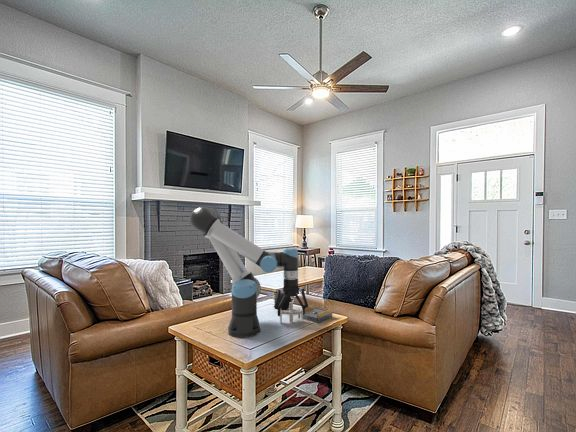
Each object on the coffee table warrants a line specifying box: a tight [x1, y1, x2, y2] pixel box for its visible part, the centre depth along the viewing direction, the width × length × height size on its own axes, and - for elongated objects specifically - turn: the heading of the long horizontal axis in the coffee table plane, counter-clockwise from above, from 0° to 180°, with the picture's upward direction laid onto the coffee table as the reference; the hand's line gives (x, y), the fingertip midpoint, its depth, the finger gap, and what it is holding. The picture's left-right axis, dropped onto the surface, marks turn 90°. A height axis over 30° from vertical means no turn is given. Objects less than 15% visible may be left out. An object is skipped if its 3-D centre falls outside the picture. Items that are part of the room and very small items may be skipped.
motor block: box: [297, 304, 333, 324], centre depth 169 cm, size 13×13×4 cm
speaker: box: [273, 292, 293, 311], centre depth 182 cm, size 10×10×10 cm
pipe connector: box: [282, 301, 301, 324], centre depth 162 cm, size 10×10×10 cm
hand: (291, 321), depth 162 cm, fingers closed on pipe connector, 10 cm apart
